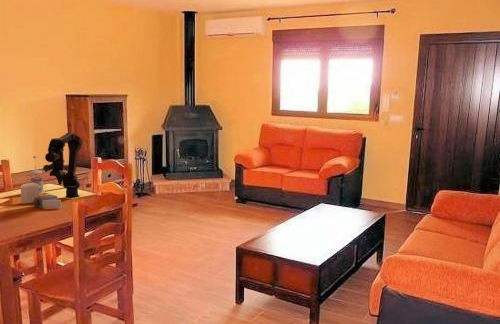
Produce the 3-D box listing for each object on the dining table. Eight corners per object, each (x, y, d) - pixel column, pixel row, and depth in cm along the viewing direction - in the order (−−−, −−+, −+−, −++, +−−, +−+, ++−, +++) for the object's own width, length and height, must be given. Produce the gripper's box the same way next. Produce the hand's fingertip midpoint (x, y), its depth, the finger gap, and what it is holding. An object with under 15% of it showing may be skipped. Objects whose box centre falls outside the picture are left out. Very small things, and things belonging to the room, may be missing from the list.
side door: (61, 207, 255) (60, 199, 254) (60, 208, 254) (60, 200, 253) (42, 208, 254) (42, 199, 253) (42, 209, 252) (41, 200, 251)
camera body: (49, 202, 266) (49, 193, 265) (58, 204, 262) (57, 195, 261) (32, 207, 256) (31, 197, 255) (40, 209, 252) (39, 199, 251)
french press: (41, 194, 286) (38, 157, 282) (23, 194, 286) (20, 157, 282) (48, 190, 296) (45, 154, 291) (31, 190, 296) (28, 154, 292)
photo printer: (39, 200, 271) (38, 181, 268) (40, 202, 267) (39, 182, 265) (21, 203, 265) (19, 183, 263) (22, 204, 262) (20, 184, 259)
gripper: (48, 157, 268) (50, 181, 271) (39, 162, 250) (41, 188, 253) (67, 156, 270) (69, 181, 273) (59, 162, 252) (61, 188, 254)
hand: (60, 184), depth 263 cm, fingers closed
